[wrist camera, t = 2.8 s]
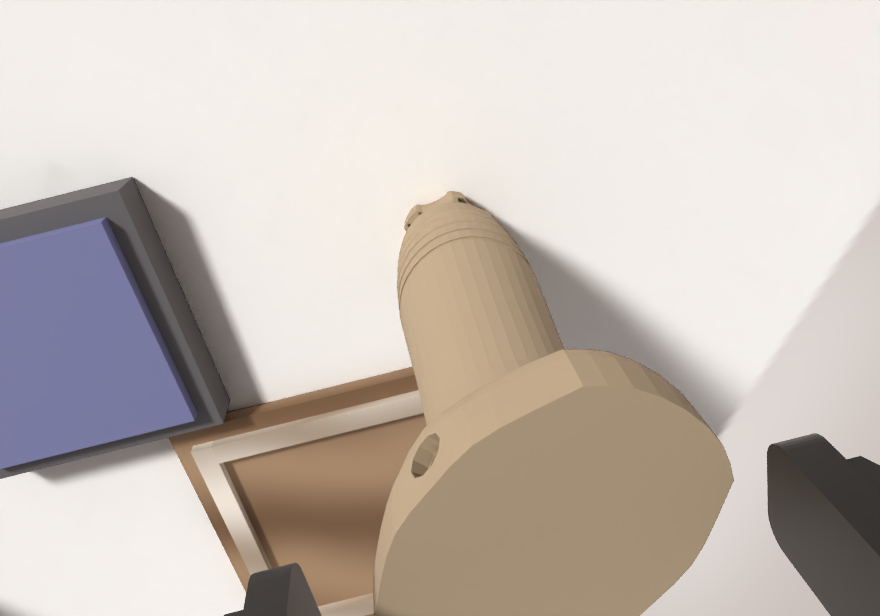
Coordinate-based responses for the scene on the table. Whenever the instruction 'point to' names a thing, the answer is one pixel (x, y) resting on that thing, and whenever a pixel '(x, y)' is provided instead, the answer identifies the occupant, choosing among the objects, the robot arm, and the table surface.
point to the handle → (531, 448)
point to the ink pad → (94, 333)
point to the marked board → (308, 482)
